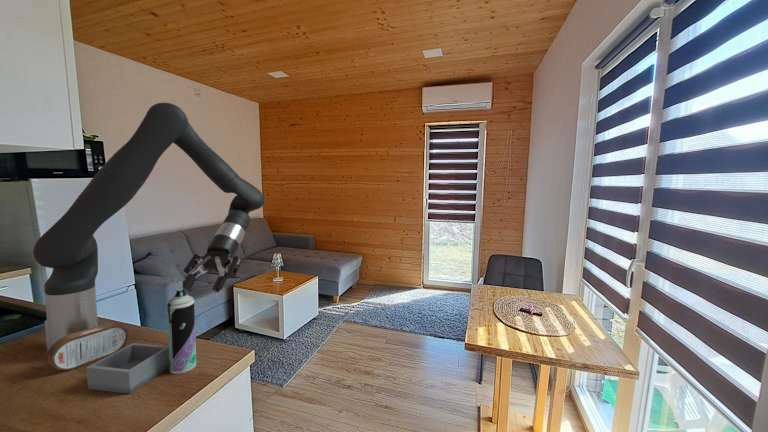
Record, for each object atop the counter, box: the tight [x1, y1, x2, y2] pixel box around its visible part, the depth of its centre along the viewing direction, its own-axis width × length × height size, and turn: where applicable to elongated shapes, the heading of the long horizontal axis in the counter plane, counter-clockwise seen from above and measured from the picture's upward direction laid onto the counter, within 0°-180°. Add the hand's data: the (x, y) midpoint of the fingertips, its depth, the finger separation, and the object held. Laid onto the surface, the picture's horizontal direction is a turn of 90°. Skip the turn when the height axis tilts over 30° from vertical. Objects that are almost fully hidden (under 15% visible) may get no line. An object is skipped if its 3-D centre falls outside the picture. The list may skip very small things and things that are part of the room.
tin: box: [45, 322, 129, 371], centre depth 75 cm, size 15×3×8 cm, turn 152°
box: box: [86, 342, 170, 395], centre depth 70 cm, size 11×11×5 cm
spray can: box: [166, 289, 197, 375], centre depth 73 cm, size 6×6×20 cm
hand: (200, 290), depth 79 cm, fingers open, 8 cm apart
